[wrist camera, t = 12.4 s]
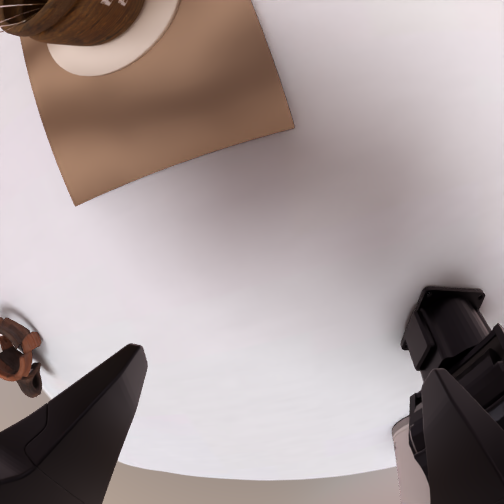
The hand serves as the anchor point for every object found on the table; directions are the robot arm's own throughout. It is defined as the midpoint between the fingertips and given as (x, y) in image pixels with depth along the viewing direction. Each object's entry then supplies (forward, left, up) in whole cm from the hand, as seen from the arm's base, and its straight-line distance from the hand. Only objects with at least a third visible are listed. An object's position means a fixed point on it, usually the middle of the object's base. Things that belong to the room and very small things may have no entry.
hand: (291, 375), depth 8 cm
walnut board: (+12, -14, -13) cm, 23 cm away
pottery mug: (+32, +20, -13) cm, 40 cm away
